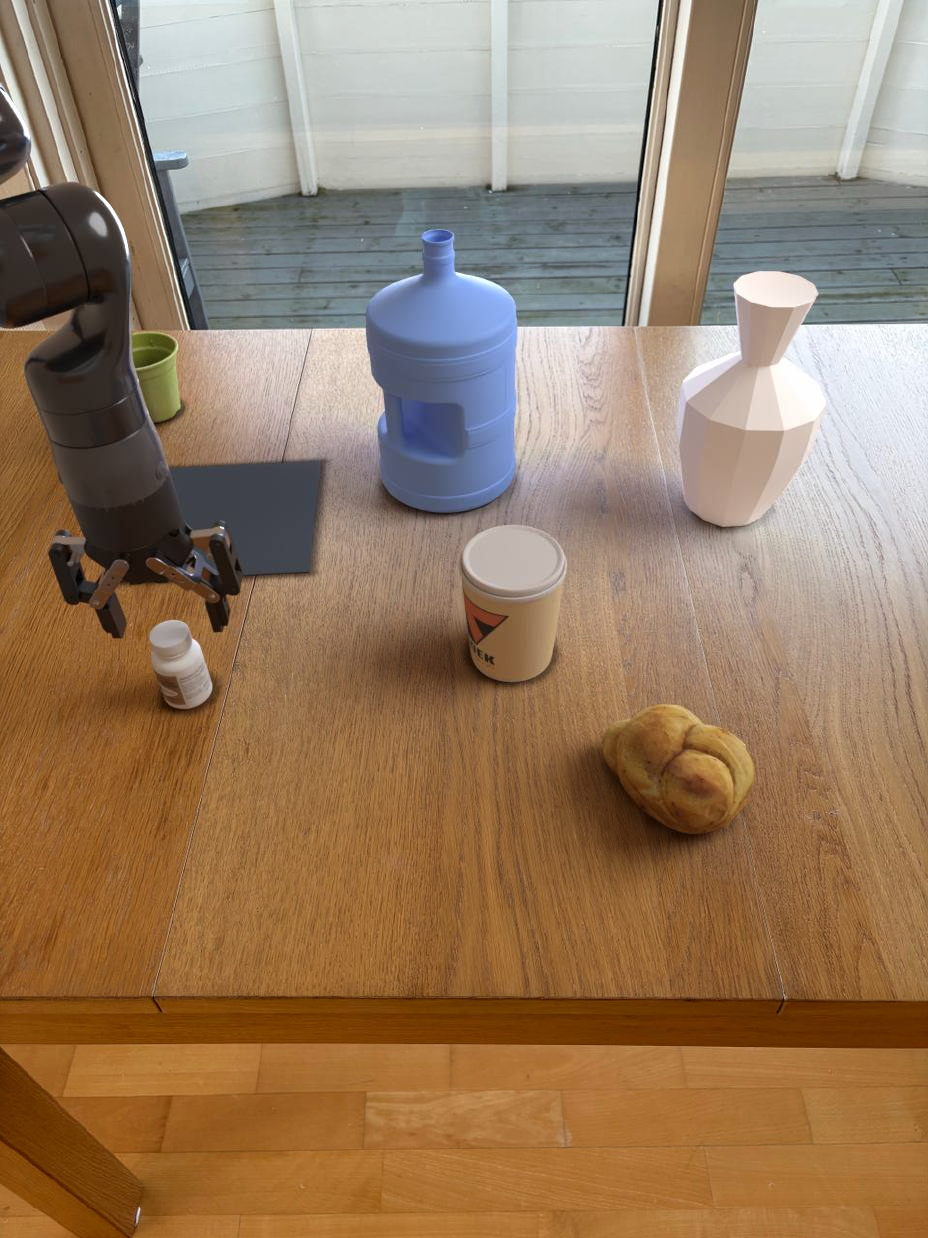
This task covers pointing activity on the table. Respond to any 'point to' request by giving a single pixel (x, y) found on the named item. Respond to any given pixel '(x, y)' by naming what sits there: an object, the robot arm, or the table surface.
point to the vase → (750, 407)
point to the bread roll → (680, 768)
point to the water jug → (444, 383)
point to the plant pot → (157, 373)
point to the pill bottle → (179, 665)
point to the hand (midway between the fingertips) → (170, 628)
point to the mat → (255, 511)
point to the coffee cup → (512, 600)
